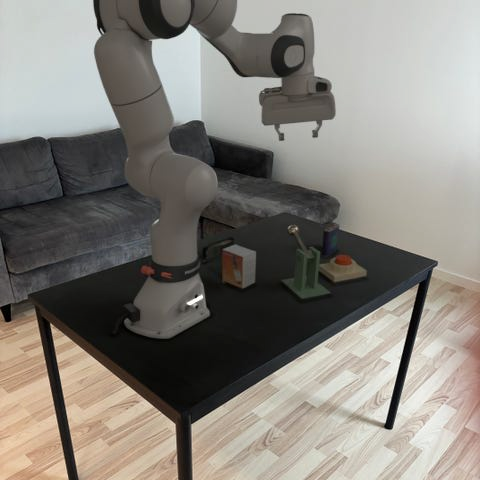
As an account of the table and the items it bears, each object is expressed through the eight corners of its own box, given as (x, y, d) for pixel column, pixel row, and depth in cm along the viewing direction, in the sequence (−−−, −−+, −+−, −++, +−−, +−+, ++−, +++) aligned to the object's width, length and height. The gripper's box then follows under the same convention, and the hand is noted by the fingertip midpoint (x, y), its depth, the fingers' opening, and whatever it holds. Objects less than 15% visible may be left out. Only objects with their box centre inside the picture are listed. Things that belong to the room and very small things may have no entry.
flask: (331, 247, 162) (334, 217, 156) (339, 249, 160) (342, 218, 155) (319, 256, 155) (322, 225, 149) (328, 258, 154) (331, 227, 148)
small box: (221, 283, 138) (221, 248, 132) (235, 277, 141) (235, 243, 136) (242, 291, 133) (242, 256, 128) (255, 285, 137) (256, 250, 131)
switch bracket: (281, 283, 138) (283, 245, 132) (308, 278, 141) (311, 240, 135) (301, 302, 128) (304, 261, 122) (330, 296, 131) (334, 256, 125)
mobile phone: (229, 234, 159) (197, 246, 148) (236, 236, 157) (205, 248, 147) (228, 248, 161) (198, 261, 151) (235, 250, 159) (205, 263, 149)
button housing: (333, 285, 137) (335, 270, 135) (317, 272, 144) (318, 259, 142) (365, 278, 141) (367, 264, 138) (348, 267, 148) (350, 253, 146)
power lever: (284, 231, 136) (287, 223, 133) (294, 230, 137) (297, 221, 134) (303, 265, 129) (306, 257, 127) (313, 263, 130) (316, 255, 128)
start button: (340, 267, 138) (341, 261, 137) (332, 261, 141) (333, 256, 141) (353, 264, 139) (354, 259, 139) (345, 259, 143) (345, 253, 142)
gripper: (259, 91, 124) (262, 145, 132) (337, 83, 124) (336, 138, 132) (257, 86, 130) (260, 139, 138) (333, 79, 129) (332, 132, 137)
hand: (298, 138), depth 135 cm, fingers open, 8 cm apart
